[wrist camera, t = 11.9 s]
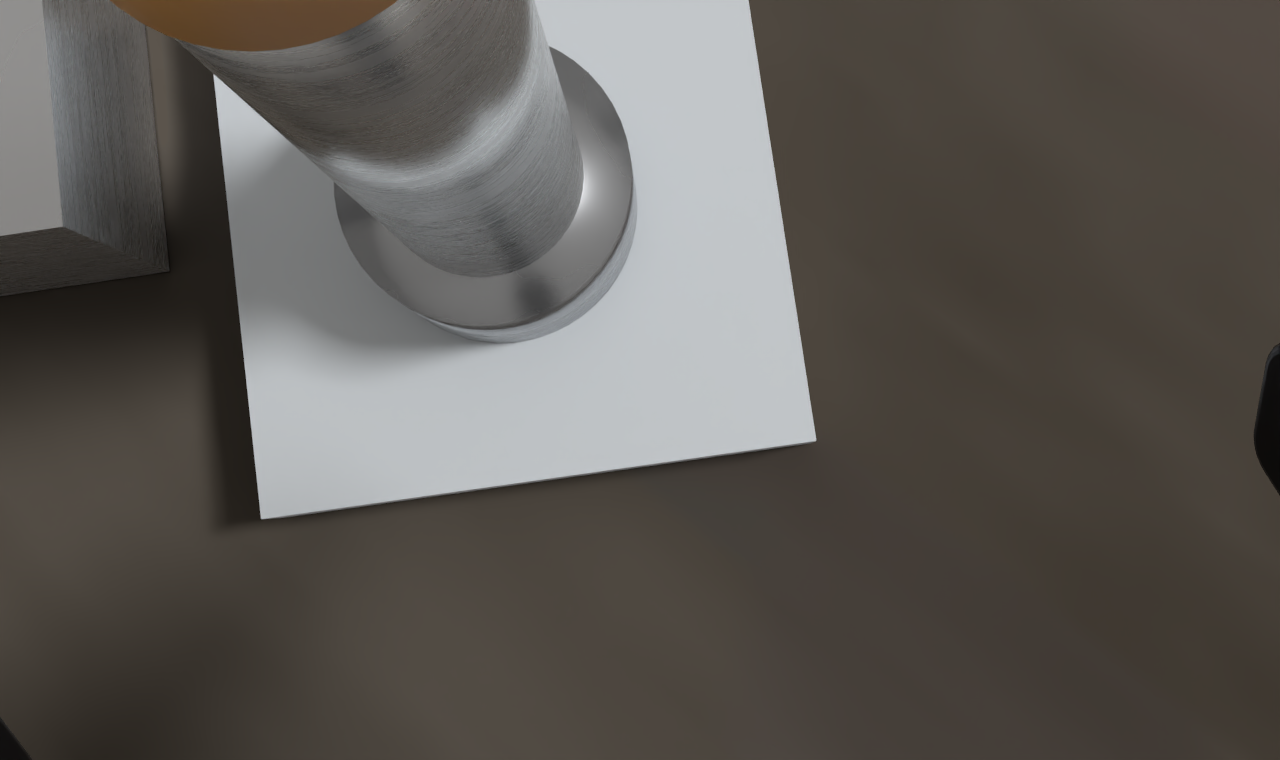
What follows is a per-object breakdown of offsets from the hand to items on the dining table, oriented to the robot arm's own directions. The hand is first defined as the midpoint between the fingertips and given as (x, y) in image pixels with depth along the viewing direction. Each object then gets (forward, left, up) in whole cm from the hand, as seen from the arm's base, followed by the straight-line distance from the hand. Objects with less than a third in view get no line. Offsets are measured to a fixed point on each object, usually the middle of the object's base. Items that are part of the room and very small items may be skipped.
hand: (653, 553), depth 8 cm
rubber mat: (+5, +2, -12) cm, 13 cm away
